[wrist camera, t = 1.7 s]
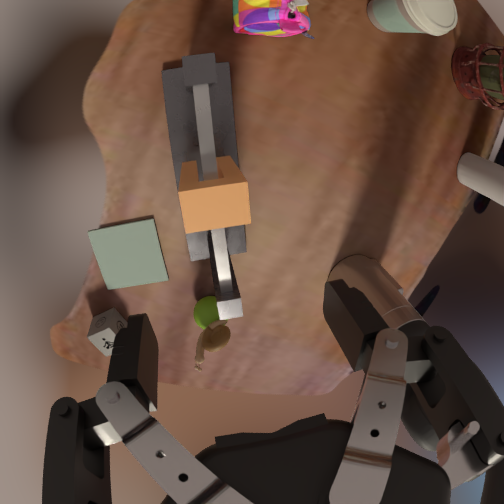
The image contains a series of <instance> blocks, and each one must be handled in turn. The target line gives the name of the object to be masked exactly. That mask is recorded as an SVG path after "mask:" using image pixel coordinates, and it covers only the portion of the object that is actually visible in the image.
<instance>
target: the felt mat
mask: <svg viewBox="0 0 504 504" xmlns="http://www.w3.org/2000/svg"><path fill="white" fill-rule="evenodd" d="M88 235H89V238H90V241H91V244H92V247H93V250H94V253H95V256H96V259H97V262H98V264H99V267H100V270H101V273H102V275H103V278H104V281H105V283H106V286H107V288H108V290H109V289H116V288H123V287H129V286H136V285H142V284H149V283H155V282H161V281H168V280H169V278H168V274H167V271H166V267H165V263H164V259H163V255H162V251H161V247H160V243H159V239H158V235H157V230H156V226H155V222H154V218H151V219H146V220H140V221H135V222H130V223H124V224H119V225H114V226H109V227H104V228H99V229H95V230H90V231H88Z"/></svg>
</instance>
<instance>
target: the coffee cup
mask: <svg viewBox="0 0 504 504" xmlns="http://www.w3.org/2000/svg"><path fill="white" fill-rule="evenodd" d="M367 13H368V17H369V19H370V21H371V22H372V23H373V25H374V26H375V27H377V28H378V29H379V30H381V31H384V32H409V33H429V34H431V35H435V36H440V35H443V34H446V33H448V32H449V31H450V30H452V29H453V28H454V27H455V26H456V23H457V10H456V6H455V3H454V1H453V0H371V1H370V2H369V3H368V6H367Z"/></svg>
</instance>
